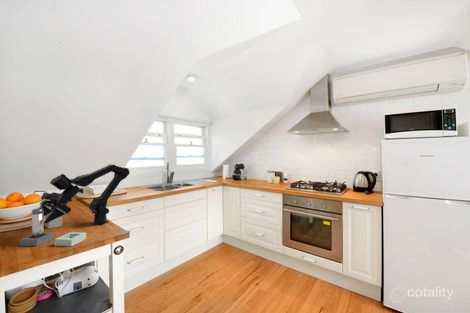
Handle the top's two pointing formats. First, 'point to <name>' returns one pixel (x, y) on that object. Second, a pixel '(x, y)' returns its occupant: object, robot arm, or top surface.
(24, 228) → the top surface
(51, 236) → the charcoal socket
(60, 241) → the sage socket
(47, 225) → the skincare box
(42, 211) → the steel peg
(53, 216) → the robot arm
